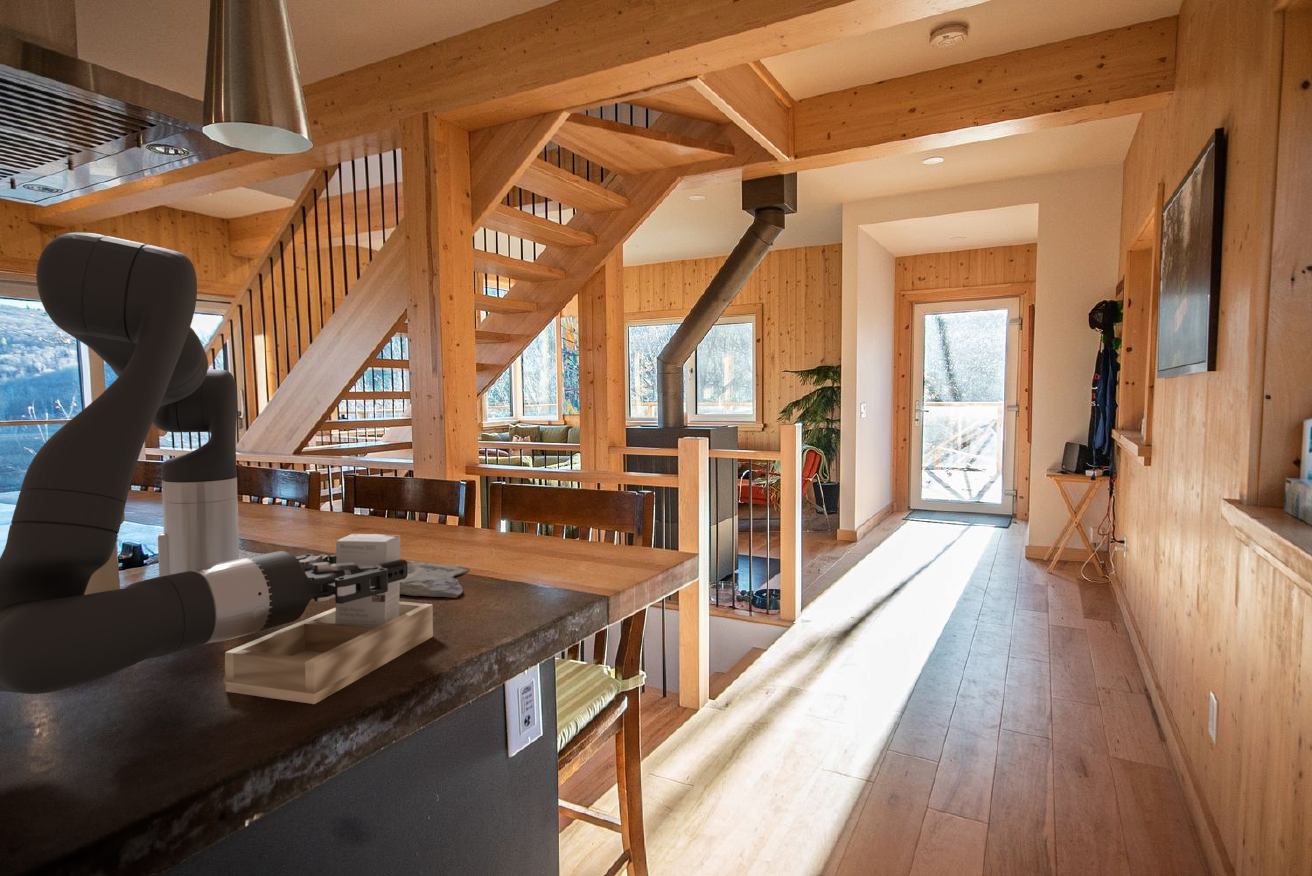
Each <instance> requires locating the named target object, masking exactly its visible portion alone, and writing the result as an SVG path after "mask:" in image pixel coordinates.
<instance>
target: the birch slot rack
mask: <svg viewBox="0 0 1312 876" xmlns="http://www.w3.org/2000/svg"><path fill="white" fill-rule="evenodd" d="M433 608H434V607H433V604H432V603H430V604H429V603H420V602H411V601H409V602H408V601H400V600H399V617H397V618H395V619H393V620H391V621H389V622H387V623H385V624H383V625H381V626H378V627H376V628H373V627H363V626H354V625H344V624H336V606H335V607H333V608H331V609H328V610H326V611H323V612H321V613H317V614H316V615H313V616H310V617H309V618H306V619H304V620H301V621H298V622H296V623H293V624H291V625H289V626H285V627H284V628H281V629H279V630H276V631H273V632H271V633H269V634H267V635H264V636H262V637H259V638H256V639H254V640H251V641H248V642H246V643H244V644H241V645H239V646H236V647H234V648H232V649H229V650H227V651H225V652H224V665H225V667H224V668H225V692H226V693H234V694H241V695H246V696H252V697H253V696H256V697H262V698H266V699H267V698H268V699H275V700H276V699H277V700H283V701H290V702H296V703H297V702H298V703H303V704H304V703H305V704H311V705H316V704H317V703H320V702H321V701H323V700H325V699H326V698H329V697H330V696H331V695H333V694H336V693H337V692H338V691H340V690H342V689H344V688H346V687H348V686H349V685H350V684H352V683H355V682H356V681H358V680H360V679H361V678H363V677H365V676H367V675H369V674H370V673H371V672H373V671H375V670H378V669H379V668H380V667H382V666H384V665H386V664H387V663H389V662H391V661H393V660H394V659H397V658H398V657H400V656H401V655H404V654H405V653H406V652H409V651H410V650H412V649H414V648H415V647H417V646H419V645H420V644H422V643H424V642H426V641H428V640H429V639H431V638H433V637H434V624H433V622H434V620H433V619H434V615H433V614H434V613H433Z"/></svg>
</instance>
